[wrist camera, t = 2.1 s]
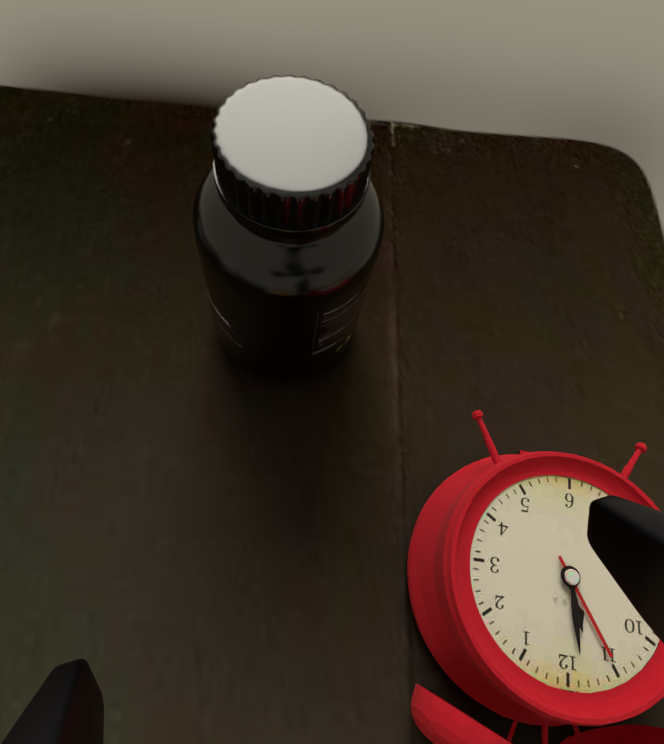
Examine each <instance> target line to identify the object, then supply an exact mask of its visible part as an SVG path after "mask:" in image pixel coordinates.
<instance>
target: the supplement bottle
mask: <svg viewBox="0 0 664 744" xmlns="http://www.w3.org/2000/svg"><path fill="white" fill-rule="evenodd" d="M211 141H212V148H213V156H214V159H213V165H212V167H211V168H210V169H209V171H208V172H207V173H206V175H205V177H204V178H203V180H202V182H201V184H200V186H199V188H198V191H197V194H196V197H195V201H194V207H193V225H194V232H195V238H196V243H197V247H198V252H199V256H200V261H201V265H202V270H203V274H204V279H205V283H206V288H207V292H208V297H209V301H210V306H211V310H212V314H213V319H214V323H215V326H216V330H217V334H218V336H219V339H220V341H221V343H222V345H223V347H224V349H225V350H226V352H227V353H228V354H229V355H230V357H231V358H232V359H233V360H234V361H235V362H236V363H237V364H239V365H240V366H241V367H242V368H244V369H246V370H247V371H249V372H251V373H253V374H255V375H257V376H260V377H262V378H266V379H270V380H275V381H296V380H302V379H306V378H309V377H312V376H315V375H317V374H319V373H321V372H323V371H324V370H326V369H327V368H329V367H330V366H331V365H333V364H334V363H335V362H336V361H337V360H338V359H339V358H340V356H341V355H342V354H343V352H344V351H345V349H346V348H347V346H348V344H349V342H350V339H351V337H352V334H353V331H354V329H355V326H356V323H357V320H358V316H359V313H360V310H361V307H362V304H363V301H364V298H365V295H366V291H367V288H368V285H369V282H370V279H371V276H372V273H373V270H374V266H375V263H376V260H377V257H378V254H379V250H380V247H381V242H382V238H383V232H384V214H383V208H382V204H381V201H380V197H379V195H378V192H377V190H376V188H375V186H374V184H373V182H372V181H371V179H370V167H371V163H372V159H373V154H374V145H373V141H374V134H373V133H372V131H371V123H370V122H369V121H368V120H367V119H366V116H365V112H364V111H363V110H362V109H360V108H359V106H358V104H357V102H356V101H355V100H353V99H351V98H349V97H348V95H347V94H346V93H345V92H343V91H340V90H338V89H337V88H336V87H334V86H333V85H329V84H325V83H324V82H322V81H320V80H316V79H310V78H308V77H305V76H300V77H297V76H293V75H286V76H277V75H274V76H271V77H269V78H260V79H258V80H256V81H254V82H249V83H246V84H245V85H244V86H243V87H241V88H238V89H236V90H234V92H233V94H232V95H230V96H228V97H226V98H225V100H224V104H222V105H221V106H220V107H219V108H218V110H217V116H216V117H215V118H214V119H213V130H212V132H211Z"/></svg>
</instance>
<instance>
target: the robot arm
mask: <svg viewBox="0 0 664 744" xmlns="http://www.w3.org/2000/svg"><path fill="white" fill-rule="evenodd" d="M587 538H588V541H589V544H590V546H591V548H592V549H593V551H594V552H595V554H596V555H597V556H598V558H599V559H600V560H601V562H602V563H603V565H604V566H605V567H606V569H607V570H608V572H609V573H610V574H611V576H612V577H613V579H614V580H615V581H616V583H617V584H618V586H619V587H620V588H621V590H622V591H623V593H624V594H625V595H626V597H627V598H628V600H629V601H630V602H631V604H632V605H633V607H634V608H635V609H636V611H637V612H638V613H639V615H640V616H641V617H642V618H643V620H644V621H645V622H646V623H647V625H648V626H649V627H650V628H651V629H652V631H653V632H654V633H655V634H656V635H657V637H658V638H659V639H660V640H661V641H662V642H663V644H664V512H662V511H659V510H656V509H653V508H650V507H647V506H644V505H641V504H638V503H636V502H633V501H630V500H627V499H624V498H621V497H618V496H614V495H608V496H605V497H602V498H599V499H595V500H593V501H592V502H591V504H590V506H589V516H588V527H587ZM103 730H104V704H103V697H102V693H101V690H100V688H99V686H98V684H97V682H96V680H95V677H94V675H93V673H92V671H91V669H90V667H89V664H88V663H87V661H86V660H84V659H77V660H74V661H71V662H68V663H64V664H61V665H59V666H57V667H55V668H54V669H53V670H52V672H51V673H50V674H49V676H48V677H47V679H46V680H45V682H44V683H43V684H42V686H41V687H40V689H39V690H38V692H37V693H36V694H35V696H34V697H33V699H32V700H31V702H30V703H29V704H28V706H27V707H26V709H25V710H24V712H23V713H22V714H21V716H20V717H19V719H18V720H17V722H16V723H15V725H14V726H13V727H12V729H11V730H10V732H9V733H8V735H7V736H6V737H5V739H4V740H3V742H2V743H1V744H103Z"/></svg>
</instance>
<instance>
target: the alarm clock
mask: <svg viewBox="0 0 664 744" xmlns="http://www.w3.org/2000/svg"><path fill="white" fill-rule="evenodd" d="M482 416H483V413H482V411H480V410H477V411H474V412H473V413H472V417H473V419H476V420H477V421H478V424H479V426H480V429H481V432H482V434H483V437H484V441H485V443H486V446H487V448H488V451H489V453H490V455H491V457H488V458H484V459H481V460H478V461H476V462H473V463H471V464H469V465H467V466H465V467H463V468H461V469H460V470H458V471H457V472H455V473H454V474H453V475H451V476H450V477H448V478H447V479H446V480H445V481H444V482H443V483H442V484H441V485H440V486H439V487H438V488H437V489H436V490H435V491H434V492H433V493H432V495H431V496H430V497H429V499H428V500H427V502H426V503H425V505H424V507H423V508H422V510H421V512H420V514H419V516H418V518H417V521H416V524H415V526H414V529H413V533H412V537H411V540H410V545H409V551H408V561H407V579H408V589H409V596H410V602H411V606H412V610H413V613H414V616H415V619H416V622H417V625H418V628H419V630H420V633H421V635H422V637H423V639H424V641H425V643H426V645H427V647H428V648H429V650H430V652H431V653H432V655H433V657H434V658H435V660H436V661H437V663H438V664H439V665H440V667H441V668H442V669H443V670H444V672H445V673H446V674H447V675H448V676H449V678H450V679H451V680H452V681H453V682H454V683H455V684H456V685H457V686H459V687H460V688H461V689H462V690H463V691H464V692H465V693H466V694H468V695H469V696H470V697H472V698H473V699H474V700H476V701H477V702H479V703H480V704H482V705H483V706H485V707H487V708H488V709H490V710H492V711H494V712H496V713H497V714H499V715H501V716H503V717H506V718H509V719H512V720H514V721H513V723H512V726H511V729H510V731H509V734H508V737H507V739H505V738H503V737H502V736H500V735H499V734H497V733H495V732H494V731H492V730H491V729H489V728H488V727H486V726H484V725H483V724H481V723H480V722H478V721H477V720H475V719H473V718H472V717H470V716H469V715H467V714H466V713H464V712H462V711H461V710H459V709H458V708H456V707H454V706H453V705H451V704H450V703H448V702H446V701H445V700H443V699H442V698H440V697H438V696H437V695H435V694H434V693H432V692H430V691H429V690H427V689H426V688H424V687H422V686H421V685H419V684H417V683H416V686H415V689H414V692H413V695H412V699H411V714H412V717H413V719H414V721H415V723H416V725H417V726H418V728H419V729H420V730H421V732H422V733H423V734H424V735H425V736H426V737H427V738H428V739H429V740H430V741H431V742H432V743H433V744H513V743H511V739H512V737H513V734H514V731H515V728H516V726H517V723H518V721H519V722H522V723H526V724H530V725H539V726H542V744H548V726H562V725H567V724H570V725H572V726H573V729H574V732H575V735H573V736H570V737H568V738H566V739H565V740H563V741H562V742H561V743H560V744H664V728H659V727H653V726H648V725H617V726H607V727H601V728H596V729H592V730H588V731H583V732H579V729H578V726H577V725H580V726H602V725H607V724H611V723H615V722H619V721H622V720H625V719H628V718H631V717H634V716H636V715H638V714H640V713H642V712H644V711H646V710H648V709H649V708H651V707H652V706H653V705H654V704H656V703H657V702H658V701H659V700H661V699H662V698H663V697H664V644H663V642H662V641H661V640H660V639H659V638H658V637H657V635H656V634H655V633H654V632H653V631H652V629H651V628H650V627H649V626H648V625H647V623H646V622H645V621H644V620H643V618H642V617H641V616H640V615H639V613H638V612H637V611H636V609H635V608H634V607H633V605H632V604H631V602H630V601H629V600H628V598H627V597H626V595H625V594H624V593H623V591H622V590H621V588H620V587H619V586H618V584H617V583H616V581H615V580H614V579H613V577H612V576H611V574H610V573H609V572H608V570H607V569H606V567H605V566H604V565H603V563H602V562H601V560H600V559H599V558H598V556H597V555H596V554H595V552H594V551H593V549H592V548H591V546H590V544H589V541H588V538H587V527H588V516H589V506H590V504H591V502H592V501H593V500H595V499H599V498H602V497H605V496H608V495H614V496H618V497H621V498H624V499H627V500H630V501H633V502H636V503H638V504H641V505H644V506H647V507H650V508H653V509H656V510H659V509H658V508H657V506H656V505H655V504H654V503H653V502H652V501H651V500H650V498H649V497H648V496H647V495H646V494H645V493H644V492H643V491H642V490H641V489H639V488H638V487H637V486H636V485H634V484H633V483H632V482H631V481H630V480H628V477H629V475H630V474H631V472H632V470H633V466H634V465H635V463H636V461H637V459H638V458H639V456H640V454H641V453H645V452H646V450H647V446H646V445H645V444H644V443H637V444H636V445H635V450H636V451H635V453H634V455H633V456H632V458H631V459H630V461H629V462H628V464H627V465H625V467H624V469H623V470H622V472H621V473H620V474H619V473H618V472H616V471H615V470H613V469H611V468H609V467H607V466H605V465H603V464H601V463H599V462H597V461H594V460H591V459H589V458H586V457H582V456H578V455H574V454H568V453H561V452H550V451H543V452H526V451H521V450H520V451H518V453H520V454H508V455H498V453H497V450H496V448H495V446H494V443H493V441H492V439H491V437H490V436H489V433H488V431H487V429H486V427H485V425H484V422H483V420H482ZM659 511H660V510H659Z"/></svg>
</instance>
